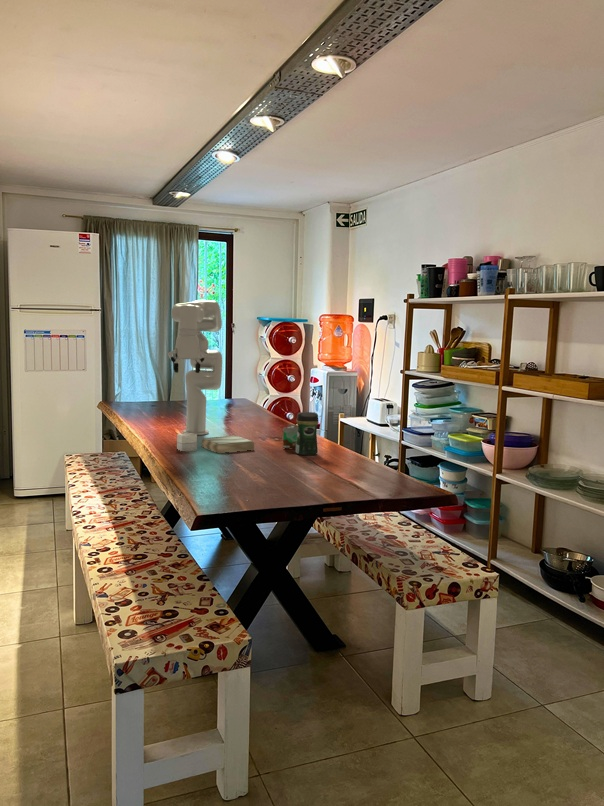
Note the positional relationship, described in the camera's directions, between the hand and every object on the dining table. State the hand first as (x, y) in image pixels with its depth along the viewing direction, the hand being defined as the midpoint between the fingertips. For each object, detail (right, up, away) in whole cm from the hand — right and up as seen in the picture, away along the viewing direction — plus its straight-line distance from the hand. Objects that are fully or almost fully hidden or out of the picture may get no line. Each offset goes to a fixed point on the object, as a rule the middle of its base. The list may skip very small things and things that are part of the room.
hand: (186, 372), depth 288 cm
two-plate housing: (0, -34, -2) cm, 34 cm away
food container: (+46, -34, +13) cm, 59 cm away
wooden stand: (+17, -34, +5) cm, 38 cm away
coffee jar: (+52, -36, +1) cm, 63 cm away
